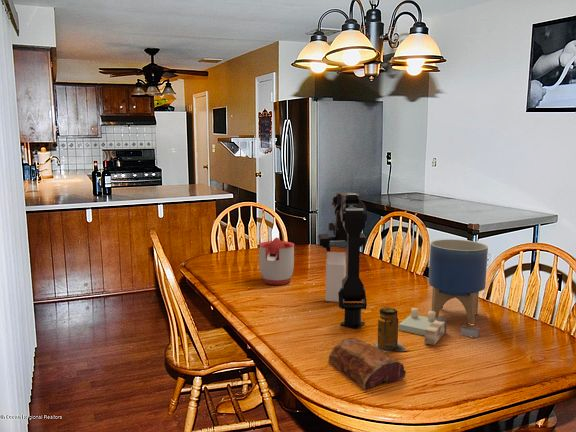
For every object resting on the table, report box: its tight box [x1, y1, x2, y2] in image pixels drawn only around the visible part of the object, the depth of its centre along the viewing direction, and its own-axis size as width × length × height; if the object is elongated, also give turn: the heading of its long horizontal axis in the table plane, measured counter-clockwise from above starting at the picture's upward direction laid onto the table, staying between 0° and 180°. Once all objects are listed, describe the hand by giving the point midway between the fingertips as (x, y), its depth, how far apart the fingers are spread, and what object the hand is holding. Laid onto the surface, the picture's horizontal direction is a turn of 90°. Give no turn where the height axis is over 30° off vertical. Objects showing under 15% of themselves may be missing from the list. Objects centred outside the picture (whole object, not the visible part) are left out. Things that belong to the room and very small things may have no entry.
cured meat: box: [328, 337, 407, 391], centre depth 145 cm, size 18×25×7 cm
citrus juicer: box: [258, 237, 295, 286], centre depth 227 cm, size 16×17×20 cm
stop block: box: [460, 325, 480, 339], centre depth 168 cm, size 3×5×2 cm, turn 57°
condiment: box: [373, 306, 408, 353], centre depth 157 cm, size 7×8×12 cm
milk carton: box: [324, 251, 347, 303], centre depth 203 cm, size 7×7×19 cm
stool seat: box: [398, 307, 436, 337], centre depth 174 cm, size 12×10×5 cm
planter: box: [428, 238, 489, 324], centre depth 184 cm, size 19×19×26 cm
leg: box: [424, 316, 448, 346], centre depth 165 cm, size 14×4×4 cm, turn 147°
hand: (340, 258), depth 208 cm, fingers open, 9 cm apart
